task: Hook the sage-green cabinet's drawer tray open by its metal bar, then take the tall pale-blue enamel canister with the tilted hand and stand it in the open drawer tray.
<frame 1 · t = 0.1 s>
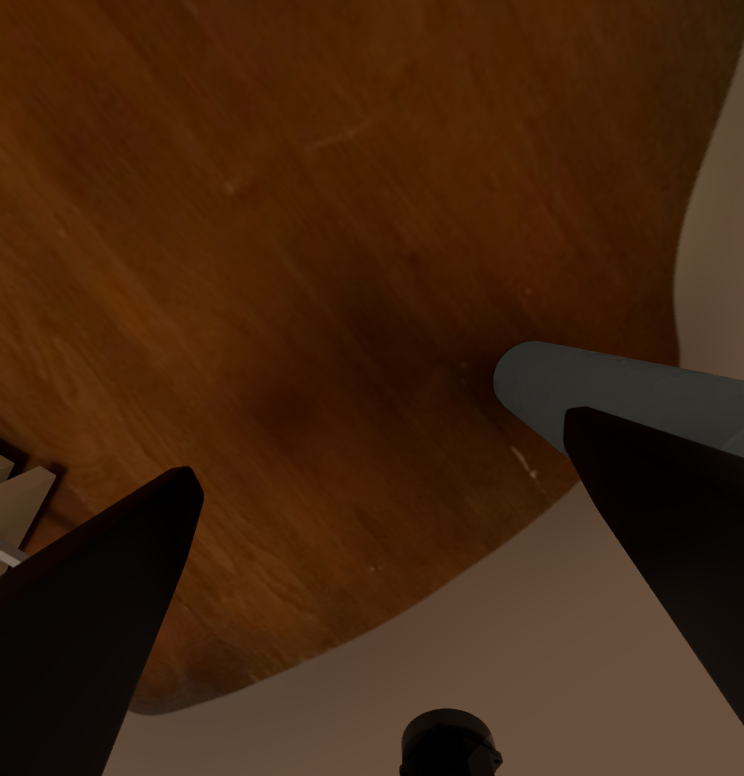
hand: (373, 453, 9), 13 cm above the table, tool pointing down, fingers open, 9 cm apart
canister: (531, 378, 21), on the table
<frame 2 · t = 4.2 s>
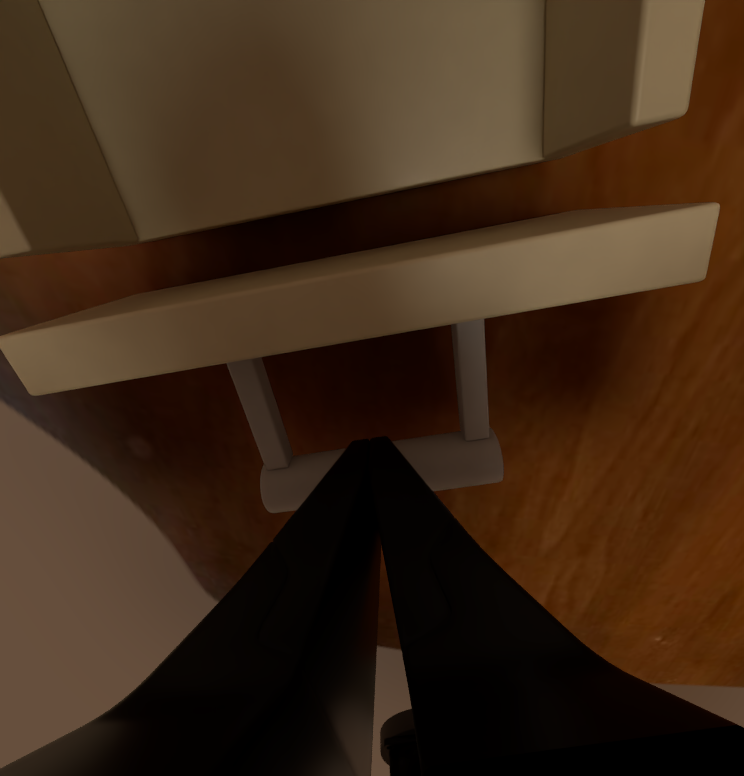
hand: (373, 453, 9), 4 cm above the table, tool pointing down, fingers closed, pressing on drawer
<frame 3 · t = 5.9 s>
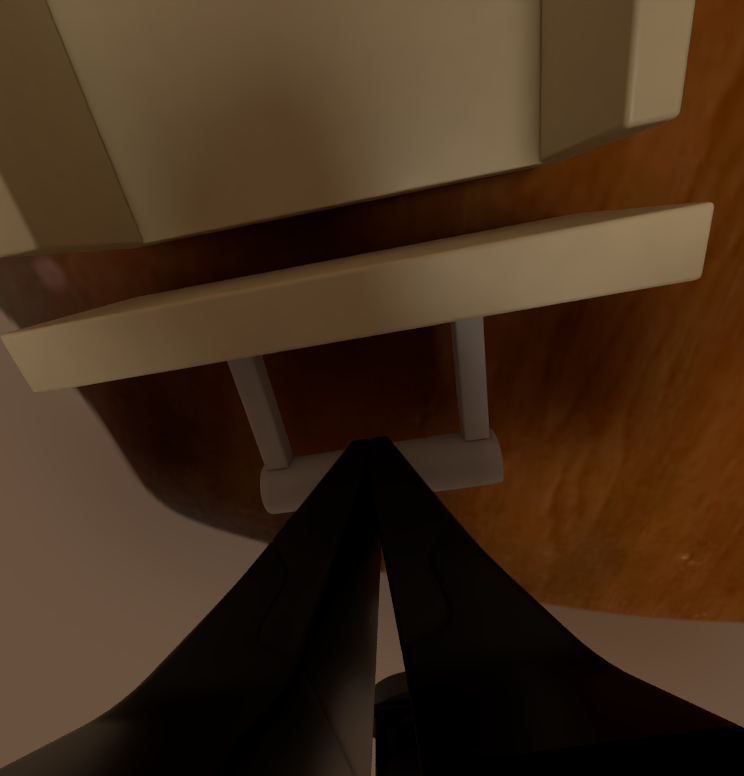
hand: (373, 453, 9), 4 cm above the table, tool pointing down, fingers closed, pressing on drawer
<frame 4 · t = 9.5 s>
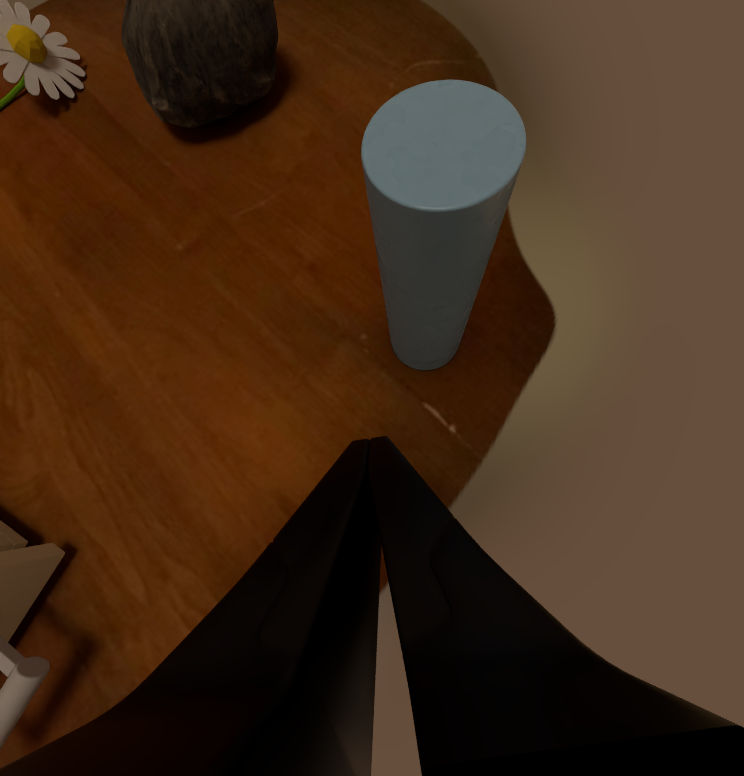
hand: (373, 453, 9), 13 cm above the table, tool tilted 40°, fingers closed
rock: (230, 98, 31), on the table
canister: (425, 338, 23), on the table
decorative flower: (28, 117, 33), on the table
when the fingers open (8 cm above the table, at t = 23.3 s): canister stays where it is, resting on drawer.
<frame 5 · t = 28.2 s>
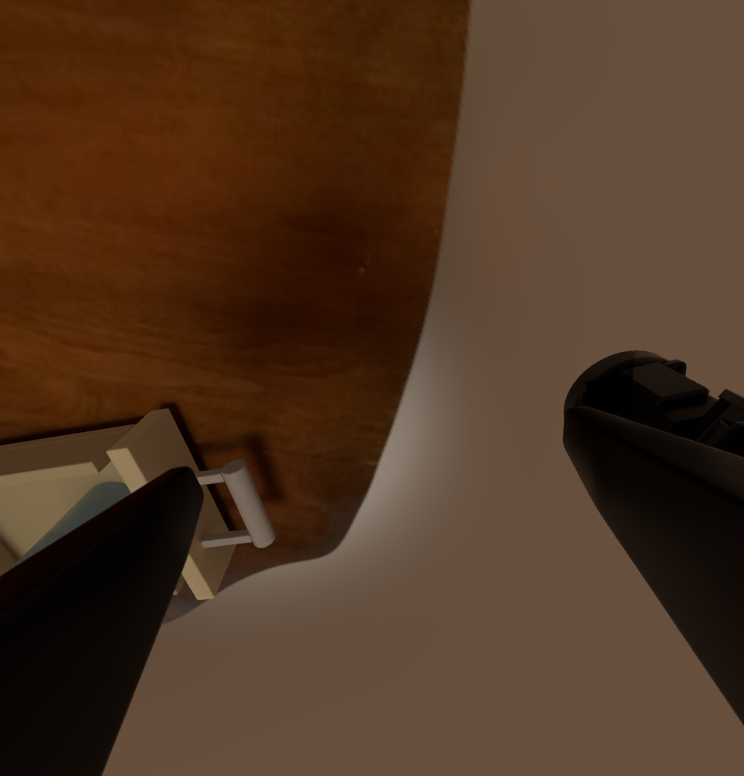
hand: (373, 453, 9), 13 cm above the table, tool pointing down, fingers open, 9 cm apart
canister: (121, 506, 24), point 2 cm above the table, touching drawer
drawer: (107, 518, 23), point 3 cm above the table, slide at 13.5 cm, touching canister
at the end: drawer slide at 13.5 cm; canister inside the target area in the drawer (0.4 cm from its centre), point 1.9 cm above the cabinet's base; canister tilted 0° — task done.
